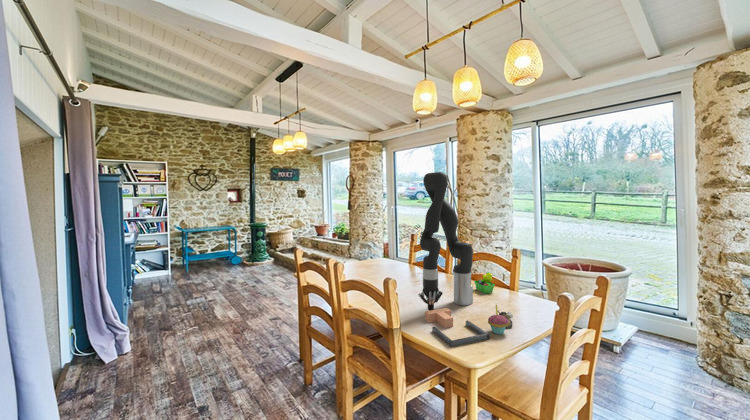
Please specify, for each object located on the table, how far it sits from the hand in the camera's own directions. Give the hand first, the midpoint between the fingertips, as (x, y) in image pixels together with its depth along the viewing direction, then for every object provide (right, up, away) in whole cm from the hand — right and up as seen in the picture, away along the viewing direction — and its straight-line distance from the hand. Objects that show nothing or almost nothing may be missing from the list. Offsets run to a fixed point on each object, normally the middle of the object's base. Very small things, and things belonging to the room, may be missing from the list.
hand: (430, 311), depth 161 cm
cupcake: (+26, -2, -22) cm, 34 cm away
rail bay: (+8, -3, -23) cm, 25 cm away
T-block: (+4, -2, -10) cm, 11 cm away
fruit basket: (+39, +2, +33) cm, 51 cm away
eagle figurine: (+31, -2, -15) cm, 35 cm away
